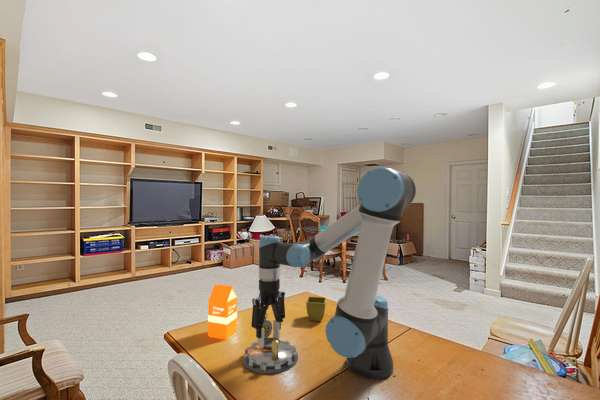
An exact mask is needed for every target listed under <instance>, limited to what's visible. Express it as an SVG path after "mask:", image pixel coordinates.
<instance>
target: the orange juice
mask: <svg viewBox="0 0 600 400" xmlns="http://www.w3.org/2000/svg"><path fill="white" fill-rule="evenodd" d="M207 305H208V308H207V311H208V312H207V313H208V315H207V337H208V336H209V338H214V339H221V340H226V341H227V340H229V339H230V338H231V337H232V336H233V335H235V334H236V333H237V330H238V328H237V327H238V326H237V325H238V296H237V294H236V291H235V289H234V287H233V285H226V284H225V285H223V284H215V283H214V285H213V287H212V290H211V293H210V295H209V299H208V304H207Z"/></svg>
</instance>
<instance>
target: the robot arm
mask: <svg viewBox="0 0 600 400" xmlns="http://www.w3.org/2000/svg"><path fill="white" fill-rule="evenodd" d="M356 193H357V194H356V195H357V198H358V200H359V202H360V203H359V204H358V205H356V206H355V207H354V208H353V209H351V210H349V211H347V212H346V213H345V214H344V215H342V216H341V217H340V218H338V219H337V220H335V221H334V222H332V223H330V225H328V226H327V227H325V228H324V229H323V230H320V232H318V233H316V234H315V235H314V236H313V237H311V238H310V239H308V240H304V241H299V242H293V243H288V242H281V238H280V236H278V235H262V236H261V237H260V238H259V242H258V262H259V263H258V278H259V280H258V291H259V295H258V296H257V297H256V298H252V300H251V302H252V312H251V313H252V314H251V326H250V327H252V328H253V329H255V337H256V338H257V342H258V346H260V347H261V348H264V334H265V333H264V328H262V327H263V323H264V319H265V316H267V315H266V314H267V310H269V307H270V306H271V309H272V314H273V317H274V320H273V321H272V322H273V324H272V332H273V334H272V335H273V337H272V338H277V339H279V340H280V341H281V339H280V338H281V337H280V335H281V334H280V333H281V332H280V331H281V329H282V327H281V326H282V323H283V322H284V319H285V318H286V308H285V306H286V305H285V295H286V292H284V291H281V290H280V288H281V287H280V285H281V284H280V282H281V281H280V278H281V277H280V276H281V275H280V273H281V270H280V269H281V266H288V267H292V268H305V267H307V265H308V264H309V263H310V262H311V261H312V262H313V261H317V260H319V259H322V258H323V257H325V255H326V253H328V252H330V251H331V250H333V249H334V248H336V247H337V246H339V245H340V244H342V243H344V242H345V241H346V240H348V239H350V238H351V237H353V236H355V235H356V234H358V236H357V239H356V240H357V241H356V245H355V250H354V255H353V258H352V263H351V266H350V271H349V275H348V279H347V284H346V287H345V293H344V296H342V297H339V299H338V301H337V303H336V308H335V313H334V316H332V317H331V318H330V319H329V320H328V321H327V323H326V326H325V336H326V340H327V342H328V343H329V345H330V347H331V349H333V351H334V352H336V353H337V354H338V355H340V356H341V357H344V358H346V366H347V369H348V370H349V371H350V372H352V373H353V374H355V375H356V376H358V377H361V378H365V379H371V380H381V379H386V378H388V377H390V376H391V375H392V374H393V372H394V360H393V357H392V354H391V350H390V347H389V334H388V333H389V305H388V304H389V303H388V300H387V299H386V298H385V297H382V296H379V295H378V294H377V293H378V290H379V289H378V288H379V285H380V282H381V277H382V273H383V270H384V266H385V262H386V257H387V253H388V249H389V244H390V240H391V237H392V233H393V229H394V226H396V225H397V224H399V223H401V220H402V217H403V214H404V209H406V208H407V207H409V206H410V205H411V204H412V203H413V201H414V199H416V198H415V197H416V194H417V187H416V184H415V182H414V180H413V178H412V177H411V176H410V175H408V174H407V173H405V172H403V171H399V170H397V169H395V168H390V167H375V168H372V169H369V170H368V171H367V172H366V173H364V174H363V175H362V176H361V178H360V179H359V182H358V184H357V189H356Z"/></svg>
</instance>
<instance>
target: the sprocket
mask: <svg viewBox="0 0 600 400" xmlns="http://www.w3.org/2000/svg"><path fill="white" fill-rule="evenodd" d="M290 343H291V341H288V340H284V341H283V340H280V345H279V340H277V339H274V340H272V348H266V347H264V348H261V347H260V346H258V341H253V342H252V343H251V345H250V347H248V346H246V347H245V349H244V354H243V356H244V360H245V361H249V366H251V367H252V368H253V367H254V366H256V367H259V368H260V370H266V369H271V368H274V369H275V370H278V369H280V368H281V367H282V366H284V365H287V366H289V365H290V364H292V359H296V357H297V354H298V352H297V347H296V346H295V345H292V344H290Z"/></svg>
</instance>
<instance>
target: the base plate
mask: <svg viewBox="0 0 600 400" xmlns="http://www.w3.org/2000/svg"><path fill="white" fill-rule="evenodd" d="M298 360H299V354H298V353H297V357H296V359H292V364H290V365H289V366H287V365H284V366H282V367H281V368H280V369H278V370H275V369H274V368H271V369H266V370H260V368H259V367H256V366H254V367H253V368H252V367H251V366H249V361H245V360H244V355H243V356H242V364H243V365H244V368H246V369H248V370H249V371H251V372H253V373H256V374H260V375H276V374H281V373H283V372H286V371H289V370H290V369H292V368H293V367H294V366H296V365H297V363H298Z"/></svg>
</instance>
